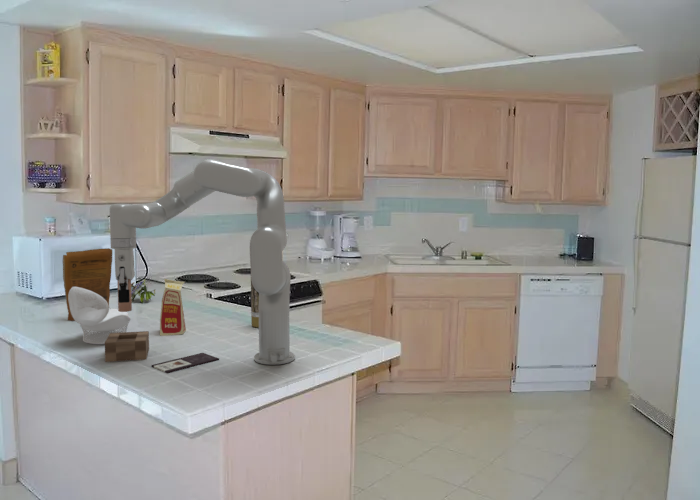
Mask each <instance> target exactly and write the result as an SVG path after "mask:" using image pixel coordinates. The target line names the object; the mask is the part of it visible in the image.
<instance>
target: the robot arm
mask: <svg viewBox="0 0 700 500" xmlns="http://www.w3.org/2000/svg"><path fill="white" fill-rule="evenodd" d="M214 192H219V193H224V194H227V195H232V196H236V197H242V198H252V197H254V198H255V200H256V218H257V219H256V220H257V221H256V224H257V226H256V227H257V228H256V229H255V230H254V231H253V233H252V234H251V236H250V239H249V261H250V262H249V263H250V264H249V265H250V281H251V280H252V284H253V287H254V288H255V290H256V291H257V292H258V293H259V327H258V352H257V353H256V354H255V355H254V356H253V359H254V361H255V362H256V363H257V364H261V365H268V366H269V365H271V366H277V365H284V364H288V363H291V362H293V361H294V360H295V357H296V356H295V353H294V352H291V350H290V346H291V345H290V343H291V342H290V339H291V338H290V336H291V335H290V297H291V296H290V295H291V279H292V277H291V276H292V275H291V270H290V268H289V266H288V264H287V263H286V262H285V261H283V251H284V250H285V248H286V247H287V241H288V239H287V229H286V226H287V225H286V212H285V211H286V210H285V199H284V197H285V196H284V192H283V189H282V187H281V185H280V183H279V181H278V180H277V179H276V178H275V177H274V176H273V175H272V174H270V173H268V172H267V171H264V170H262V169H259V168H253V167H250V168H249V167H243V166H238V165H233V164H228V163H225V162H224V161H222V160H220V159H213V158H211V159H210V158H209V159H206V158H205V159H204V160H201V161H200V162H199V163H197V165H196V166H195V168H194V170H193V171H191V172H190V173H188V174H186V175H185V176H183V177H181V178H180V179H177V181H175V183H174V184H173V187H172V188H171V190H170V191H168V192H167V193H166V194H165V195H163V196H161V197H160V198H158V199H156V200H155V201H152V202H148V203H139V204H131V203H114V204H111V205H110V207H109V230H110V231H109V233H110V235H109V237H110V238H109V239H110V249H112V250H114V272H115V280H116V281H117V280H119V290H118V289H117V301H118V300H119V303H127V302H129V301H130V298H129V290H128V279H130V280H131V281H132V280H133V279H134V278H135V276H136V272H135V271H136V269H135V256H134V254H135V251H134V249H137V233H136V232H137V229H150V228H154V227H159V226H161V225H162V224H165V223H166V222H169V221H170V220H171V219H173V218H174V217H176V216H178V215H179V214H181V213H182V212H184V211H185V210H187V209H189V208H190V207H191V206H193V205H195V204H196V203H197V202H199V201H201V200H203V199H204V198H206V197H207V196H209V195H211V194H212V193H214ZM117 276H119V277H117ZM124 278H127V280H124Z"/></svg>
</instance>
